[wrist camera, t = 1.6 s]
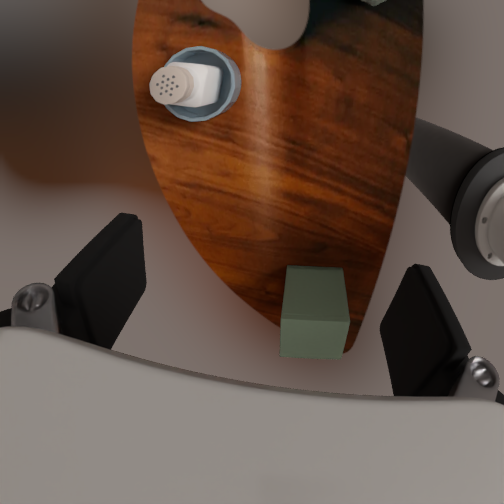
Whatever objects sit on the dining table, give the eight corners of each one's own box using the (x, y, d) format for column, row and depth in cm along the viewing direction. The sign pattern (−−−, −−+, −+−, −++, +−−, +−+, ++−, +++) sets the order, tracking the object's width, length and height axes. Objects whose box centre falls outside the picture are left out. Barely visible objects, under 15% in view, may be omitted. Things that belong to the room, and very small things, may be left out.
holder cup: (239, 46, 26) (232, 42, 23) (243, 115, 30) (236, 118, 27) (169, 55, 27) (156, 53, 24) (174, 120, 31) (162, 124, 28)
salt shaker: (183, 98, 29) (141, 107, 21) (189, 63, 27) (148, 59, 19) (219, 103, 29) (187, 112, 21) (226, 68, 27) (195, 62, 19)
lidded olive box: (342, 267, 37) (350, 321, 29) (336, 304, 40) (340, 359, 32) (287, 265, 38) (280, 318, 30) (285, 301, 41) (279, 356, 33)
